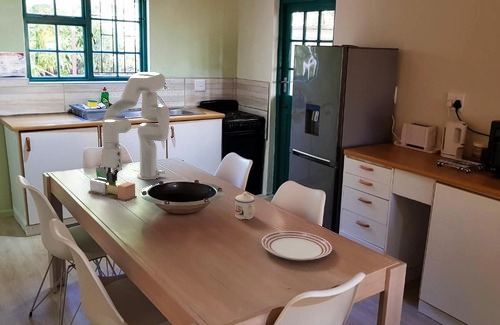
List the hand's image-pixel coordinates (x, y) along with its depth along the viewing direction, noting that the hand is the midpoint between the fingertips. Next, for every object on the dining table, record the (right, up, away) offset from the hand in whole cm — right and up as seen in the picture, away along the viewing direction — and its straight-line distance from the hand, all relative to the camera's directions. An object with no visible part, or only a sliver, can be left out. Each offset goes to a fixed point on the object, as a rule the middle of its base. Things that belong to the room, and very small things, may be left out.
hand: (112, 180), depth 237 cm
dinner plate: (+87, -26, -53) cm, 105 cm away
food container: (-10, -2, +22) cm, 25 cm away
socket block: (+8, -9, -2) cm, 12 cm away
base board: (0, -8, +2) cm, 8 cm away
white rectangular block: (-7, -6, +5) cm, 10 cm away
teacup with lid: (+68, -17, -20) cm, 73 cm away
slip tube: (+3, -7, 0) cm, 7 cm away
